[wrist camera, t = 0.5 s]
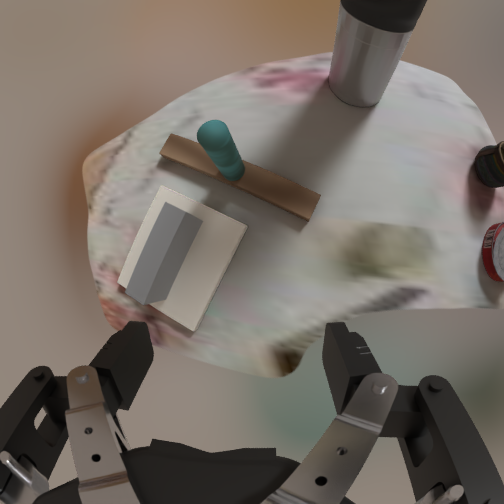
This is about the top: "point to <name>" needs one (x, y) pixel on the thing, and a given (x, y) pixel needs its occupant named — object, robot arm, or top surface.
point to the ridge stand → (180, 256)
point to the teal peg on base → (238, 169)
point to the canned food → (494, 252)
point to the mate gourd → (491, 165)
